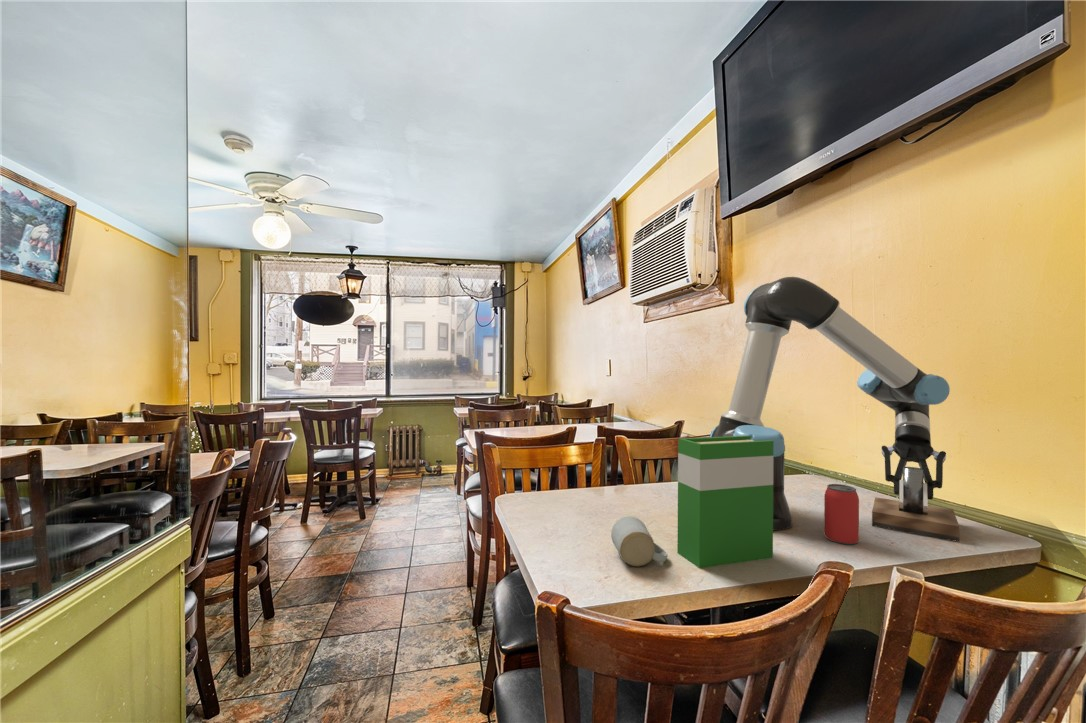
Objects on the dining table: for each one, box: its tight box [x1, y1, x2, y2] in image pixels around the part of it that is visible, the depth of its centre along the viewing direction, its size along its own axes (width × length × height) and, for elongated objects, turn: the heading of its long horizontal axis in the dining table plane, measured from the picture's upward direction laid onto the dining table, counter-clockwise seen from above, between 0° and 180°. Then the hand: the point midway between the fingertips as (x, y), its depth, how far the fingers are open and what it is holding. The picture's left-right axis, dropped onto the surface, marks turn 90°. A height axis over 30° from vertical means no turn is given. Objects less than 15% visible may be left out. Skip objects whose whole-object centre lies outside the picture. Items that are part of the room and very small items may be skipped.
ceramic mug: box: [610, 515, 669, 567], centre depth 92 cm, size 11×8×8 cm
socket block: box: [871, 496, 960, 542], centre depth 114 cm, size 16×16×4 cm
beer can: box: [823, 483, 860, 545], centre depth 103 cm, size 7×7×12 cm
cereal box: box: [676, 436, 774, 569], centre depth 94 cm, size 18×7×24 cm, turn 107°
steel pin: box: [902, 466, 924, 515], centre depth 114 cm, size 4×4×12 cm
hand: (913, 507), depth 111 cm, fingers closed on steel pin, 4 cm apart
